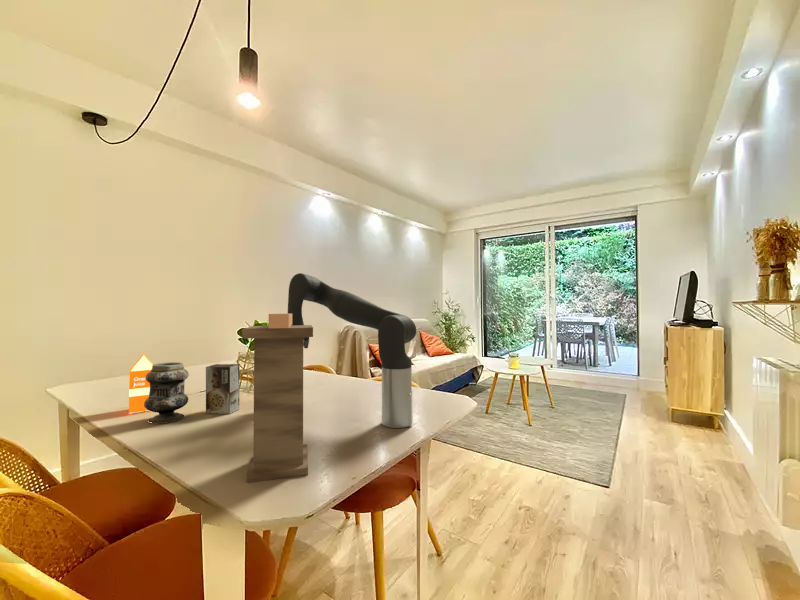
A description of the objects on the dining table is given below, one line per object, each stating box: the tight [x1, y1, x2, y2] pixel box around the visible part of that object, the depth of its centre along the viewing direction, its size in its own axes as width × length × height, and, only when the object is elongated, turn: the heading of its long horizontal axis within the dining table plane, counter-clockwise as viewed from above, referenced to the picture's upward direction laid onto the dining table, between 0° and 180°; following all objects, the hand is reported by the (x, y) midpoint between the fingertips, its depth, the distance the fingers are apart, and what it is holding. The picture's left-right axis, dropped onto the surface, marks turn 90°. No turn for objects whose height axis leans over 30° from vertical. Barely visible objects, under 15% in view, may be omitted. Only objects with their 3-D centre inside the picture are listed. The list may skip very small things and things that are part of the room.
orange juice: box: [128, 352, 154, 414], centre depth 127 cm, size 8×9×20 cm
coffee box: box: [205, 363, 240, 415], centre depth 124 cm, size 9×6×16 cm
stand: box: [241, 324, 314, 483], centre depth 82 cm, size 16×14×31 cm
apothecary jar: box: [144, 361, 190, 424], centre depth 116 cm, size 12×12×18 cm
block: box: [268, 313, 292, 328], centre depth 87 cm, size 26×4×3 cm, turn 15°
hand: (283, 329), depth 101 cm, fingers open, 8 cm apart
